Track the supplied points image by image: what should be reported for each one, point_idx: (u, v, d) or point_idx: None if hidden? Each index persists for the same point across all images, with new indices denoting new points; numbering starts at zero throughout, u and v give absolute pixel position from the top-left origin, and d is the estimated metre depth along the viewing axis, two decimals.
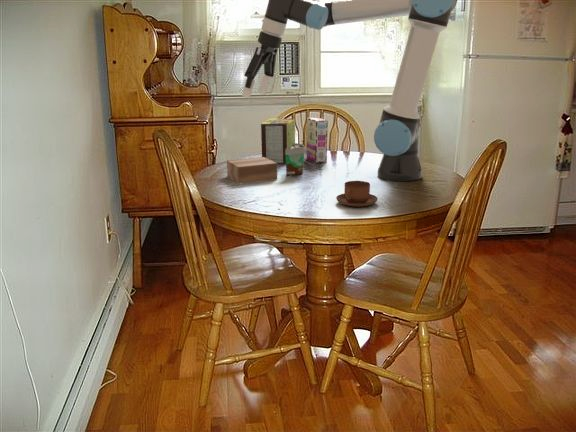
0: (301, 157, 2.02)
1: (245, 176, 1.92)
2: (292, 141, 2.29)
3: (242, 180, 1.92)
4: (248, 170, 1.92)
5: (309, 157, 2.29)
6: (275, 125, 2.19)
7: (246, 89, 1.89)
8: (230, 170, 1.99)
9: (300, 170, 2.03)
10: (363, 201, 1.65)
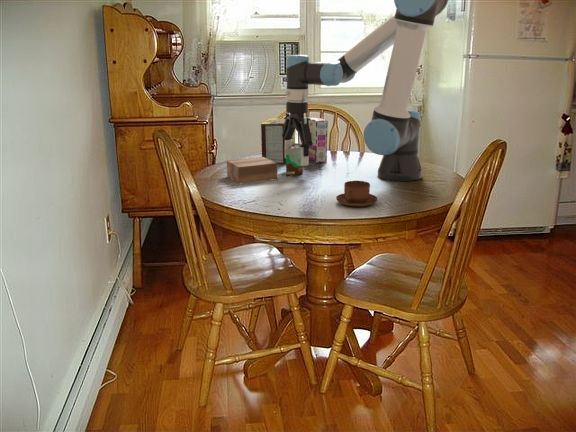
0: None
1: (246, 176, 1.92)
2: (292, 141, 2.29)
3: (243, 180, 1.92)
4: (248, 171, 1.92)
5: (309, 157, 2.29)
6: (275, 125, 2.19)
7: (304, 158, 1.98)
8: (230, 170, 1.99)
9: (300, 170, 2.03)
10: (363, 201, 1.65)
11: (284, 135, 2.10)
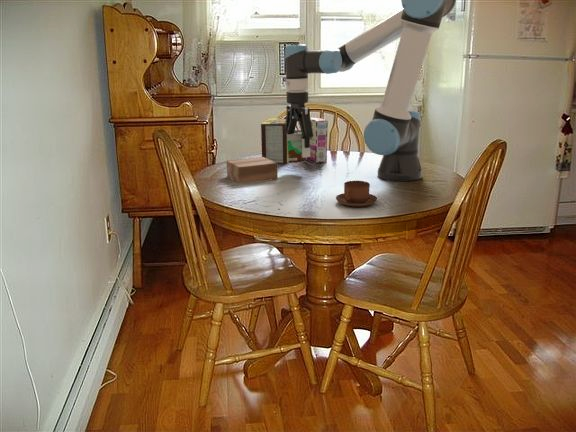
0: None
1: (246, 176, 1.92)
2: None
3: (243, 180, 1.92)
4: (249, 171, 1.92)
5: (309, 157, 2.29)
6: (275, 125, 2.19)
7: (305, 149, 1.97)
8: (230, 170, 1.99)
9: None
10: (363, 201, 1.65)
11: None
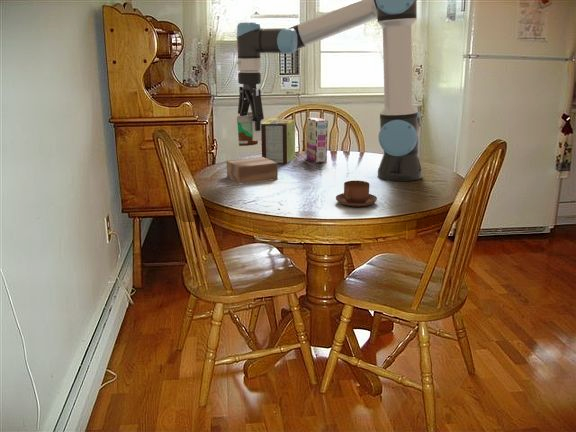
0: None
1: (246, 176, 1.92)
2: (292, 141, 2.29)
3: (243, 180, 1.92)
4: (249, 170, 1.92)
5: (309, 157, 2.29)
6: (275, 125, 2.19)
7: (256, 133, 1.90)
8: (230, 170, 1.99)
9: None
10: (362, 201, 1.65)
11: None
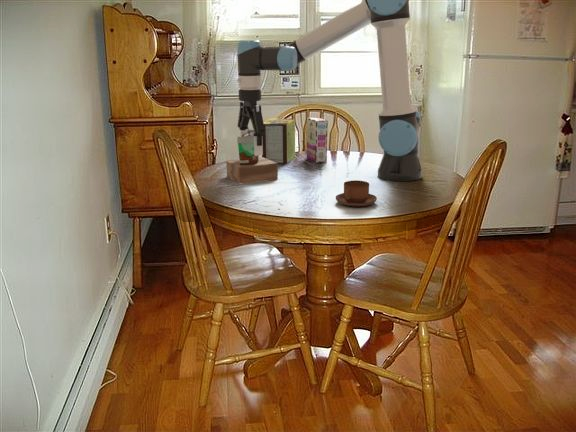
0: None
1: (246, 176, 1.92)
2: (292, 141, 2.29)
3: (244, 181, 1.92)
4: (249, 171, 1.92)
5: (309, 157, 2.29)
6: (275, 125, 2.19)
7: (257, 147, 1.90)
8: (230, 171, 1.99)
9: (254, 158, 1.95)
10: (362, 201, 1.65)
11: (240, 125, 2.02)
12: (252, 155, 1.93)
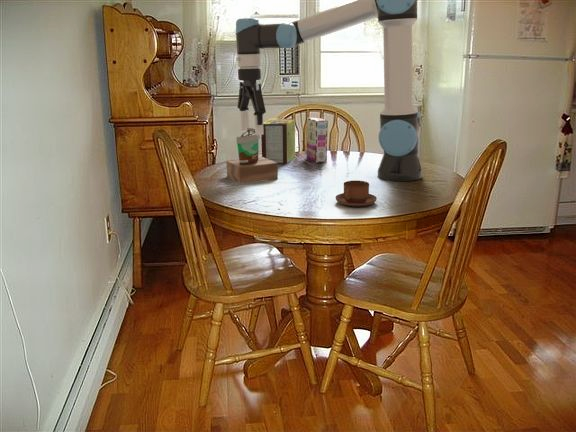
0: (254, 144, 1.93)
1: (247, 176, 1.93)
2: (292, 141, 2.29)
3: (244, 181, 1.93)
4: (249, 171, 1.93)
5: (309, 157, 2.29)
6: (275, 125, 2.19)
7: (258, 127, 1.88)
8: (230, 171, 1.99)
9: (254, 158, 1.95)
10: (362, 201, 1.65)
11: None
12: (252, 155, 1.93)
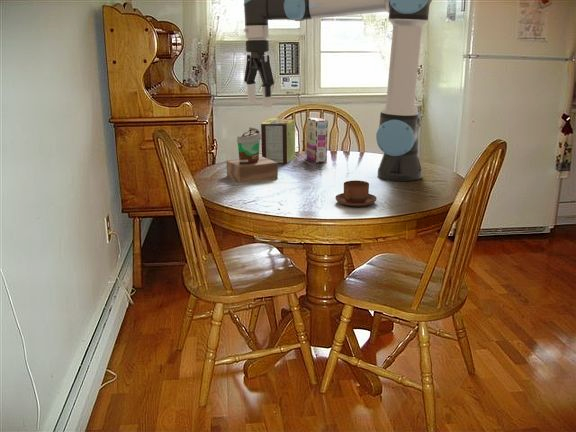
0: (255, 145, 1.93)
1: (247, 176, 1.93)
2: (292, 141, 2.29)
3: (244, 180, 1.93)
4: (249, 170, 1.93)
5: (309, 157, 2.29)
6: (275, 125, 2.19)
7: (266, 99, 1.87)
8: (230, 170, 1.99)
9: (254, 158, 1.95)
10: (362, 201, 1.65)
11: None
12: (252, 155, 1.94)
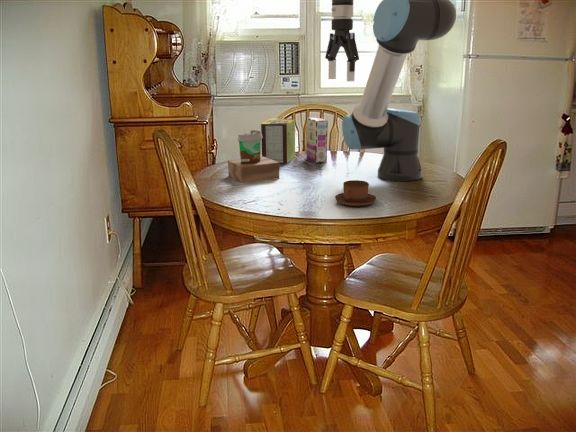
0: (256, 144, 1.95)
1: (249, 176, 1.93)
2: (292, 141, 2.29)
3: (246, 180, 1.93)
4: (251, 170, 1.93)
5: (309, 157, 2.29)
6: (275, 125, 2.19)
7: (350, 73, 2.02)
8: (231, 170, 1.99)
9: (256, 157, 1.96)
10: (362, 201, 1.65)
11: None
12: (253, 154, 1.95)
